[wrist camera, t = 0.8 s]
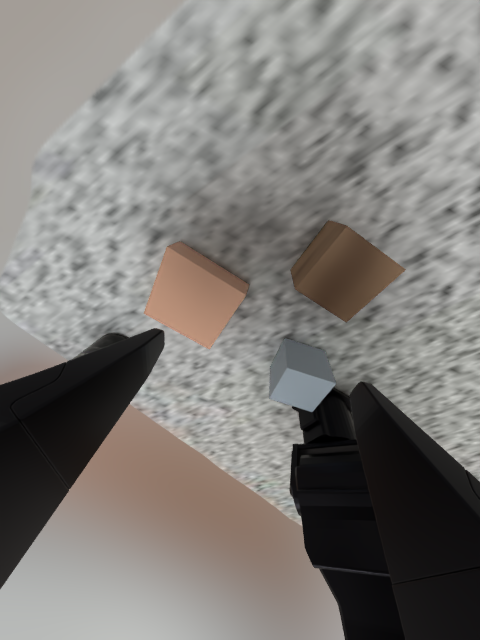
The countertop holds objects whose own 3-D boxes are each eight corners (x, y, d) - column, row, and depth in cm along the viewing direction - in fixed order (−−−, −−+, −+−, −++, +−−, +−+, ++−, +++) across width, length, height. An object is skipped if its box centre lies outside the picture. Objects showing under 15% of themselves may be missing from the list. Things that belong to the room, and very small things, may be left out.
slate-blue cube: (324, 350, 23) (336, 383, 19) (306, 377, 26) (312, 412, 21) (284, 337, 23) (287, 367, 19) (270, 366, 26) (269, 398, 21)
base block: (249, 283, 20) (246, 295, 18) (216, 334, 24) (209, 349, 22) (181, 240, 19) (167, 246, 17) (158, 301, 23) (143, 313, 21)
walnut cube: (373, 253, 17) (405, 269, 13) (330, 296, 20) (346, 322, 15) (328, 220, 16) (347, 225, 12) (290, 269, 19) (294, 289, 15)
